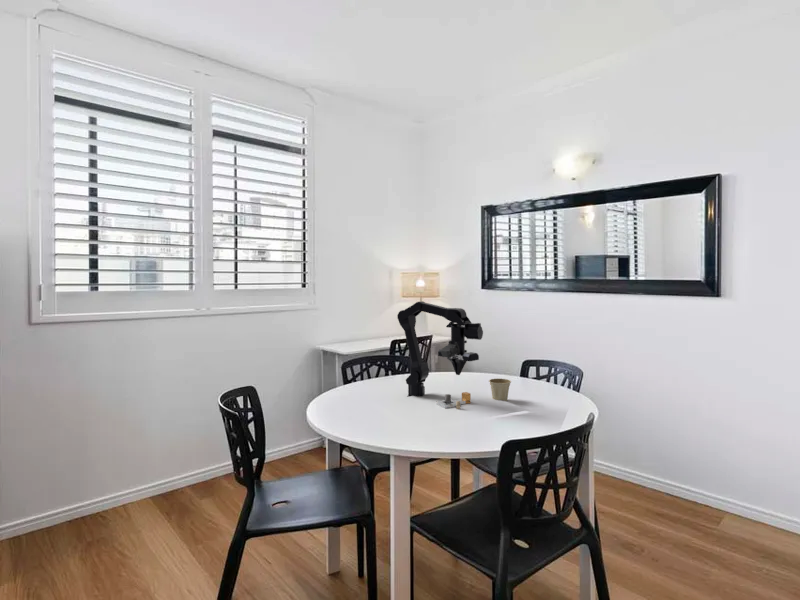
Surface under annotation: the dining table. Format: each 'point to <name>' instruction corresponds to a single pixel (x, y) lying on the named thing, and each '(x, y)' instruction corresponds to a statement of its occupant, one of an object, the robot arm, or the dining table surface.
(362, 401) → the dining table surface
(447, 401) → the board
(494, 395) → the flower pot
